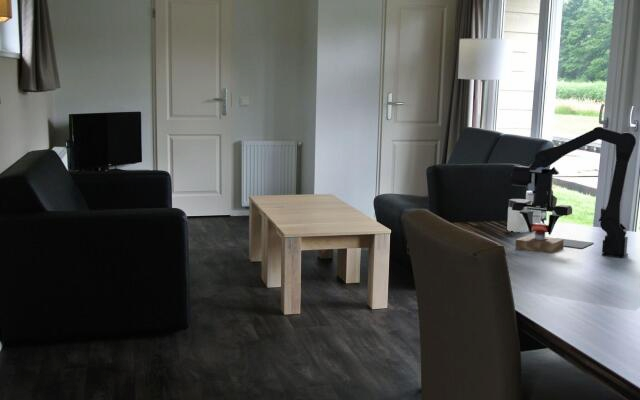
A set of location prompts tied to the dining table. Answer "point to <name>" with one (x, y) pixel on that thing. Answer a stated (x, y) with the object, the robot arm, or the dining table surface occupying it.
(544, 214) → the eagle figurine
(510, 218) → the jar
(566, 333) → the dining table surface
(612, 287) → the dining table surface
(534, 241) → the eye block
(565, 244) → the mat
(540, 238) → the no entry disc
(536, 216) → the syrup box
